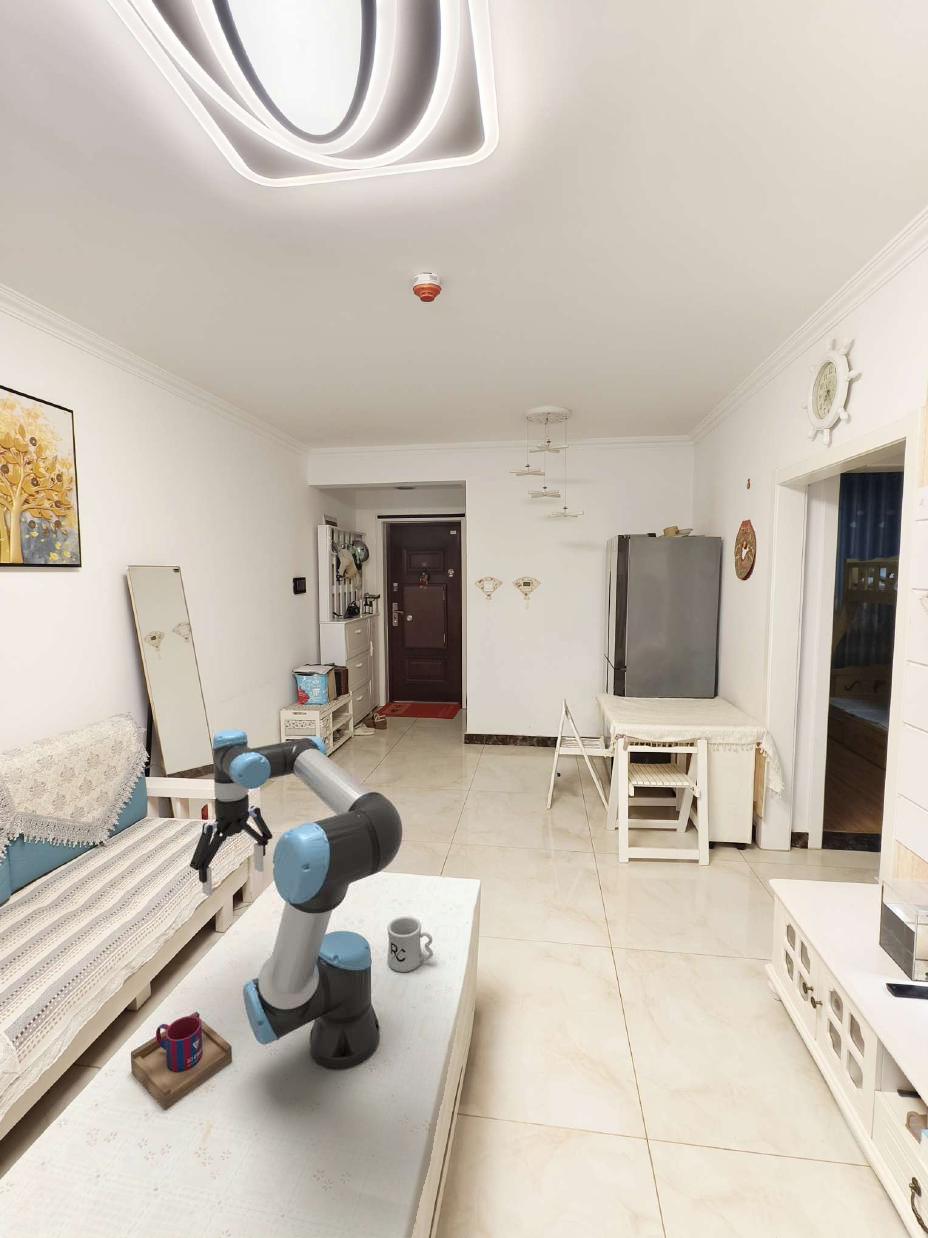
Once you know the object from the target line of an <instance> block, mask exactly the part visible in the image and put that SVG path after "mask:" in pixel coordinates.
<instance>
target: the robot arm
mask: <svg viewBox="0 0 928 1238" xmlns="http://www.w3.org/2000/svg"><path fill="white" fill-rule="evenodd" d="M248 743H249V741H248V734H247V732H245V731H244V730H242V729H227V730H226V729H225V730H223V731H222V730H221V731H219V732H217V733H215V734H214V736H213V738H212V749H211V750H212V756H213V757H212V758H213V780H214V782H213V783H214V784H213V785H214V797H215V799H214V814H215V820H214V822H211V823H208V822H204V823H203V824H202V827H201V835H200V838H199V839H198V842H197V844H196V848H195V851H194V853H193V855H192V858H191V860H190V863H189V868H192V869H193V870H195V871H198V881H199V882H201V884H202V885H201V886H202V893H203V894H204V895H206V896H208V897H211V896H213V884H212V883H213V878H212V877H213V875H212V867H210V864H211V863H212V862H213V859H214V858H215V856H216V854H217V852H218V851H219V850H220V847H221V846H222V844H223V842H226V840H227V838H228V837H229V838H230V837H233V836H234V835H236V834H241V833H242V831H244V832H245V833H246V834H247V835H249V837H251V838H252V839H254V840H255V841H256V843H254V844H253V857H254V858H253V859H254V860H253V861H254V862H253V863H254V870H255V871H258V872H260V873H262V872H264V870H265V869H264V857H265V856H266V849H267V848H266V846H267V845H269V840H272V839H273V834H272V832H271V831H270V829H269V827H268V825H267V823H266V822H265V820H264V818H263V816H262V812H261V808H260V807H258V806H255V805H251V806H250V803H249V802H250V800H249V799H250V798H249V791H250V790H254V789H258V788H260V787H261V786H263V785H264V784H265V783H267V782H268V780H270V779H274V778H280V777H285V776H288V775H294V776H296V777H297V778H298V779H299V780H300V781H301V782H302V783H303V784H304V785H305V786H306V787H307V788H308V789H309V790H311V792H312V793H314V794H315V795H316V796H317V797H318V798H319V800H321V801H322V802H323V804H324V805H326V806H327V807H328V808H329V809H330V810H331V811H332V812H333V813H334V814H335V815H333V816H330V817H327V818H323V819H320V820H317V821H313V822H305V823H304V822H303V823H302V824H300V825H299V826H296V827H293V828H291V829H288V830H287V831H285V832H284V833H282V834H281V836H280V837H279V839H278V840H277V842H276V844H275V848H274V851H273V855H272V864H273V869H272V876H273V881H274V885H275V888H276V891H277V893H278V894H279V897H281V899H282V900H283V901H285V903H284V907H283V910H282V911H283V912H282V915H281V919H280V922H279V927H278V931H277V935H276V938H275V943H274V947H273V952H272V955H271V956H270V957H269V958H268V959H267V960H266V961H265V962H264V964H263V965H262V967H261V969H260V971H259V973H258V977H256V978H252V979H250V980H249V981H247V982H245V984H244V985H243V989H242V994H243V1001H244V1002H243V1004H244V1006H245V1010H246V1015H247V1018H248V1022H249V1025H250V1028H251V1031H252V1033H253V1035H254V1038H255V1039H256V1041H257V1042H258V1043H259V1044H261V1045H263V1046H264V1045H268V1044H270V1043H272V1042H275V1041H279V1040H280V1039H281V1038H283V1037H285V1036H287V1035H288V1034H290V1033H292V1032H294V1031H296V1030H297V1029H300V1028H301V1027H303V1026H305V1025H307V1024H310V1023H311V1022H313V1025H312V1027H311V1029H310V1033H309V1053H310V1056H311V1058H312V1059H313V1060H314V1062H315V1063H316V1064H318V1065H319V1066H321V1067H323V1068H325V1069H328V1070H335V1071H338V1070H339V1071H341V1070H342V1071H343V1070H348V1069H351V1068H354V1067H355V1068H356V1066H359V1065H361V1064H362V1063H364V1062H365V1061H367V1060H368V1059H369V1058H370V1057H372V1056H373V1054H374V1053H375V1052H376V1051H377V1048H378V1046H379V1043H380V1039H381V1038H380V1035H381V1033H380V1032H381V1029H380V1028H381V1027H380V1023H379V1020H378V1017H377V1014H376V1011H375V1010H374V1006H373V1004H372V963H373V960H372V952H371V946H370V943H369V941H368V940H367V939H366V937H364V936H363V935H361V934H359V933H357V932H354V931H349V930H335V931H332V932H331V931H330V932H328V933H327V929H328V927H329V924H330V923H329V922H330V919H331V916H332V913H333V911H334V910H335V909H337V908H338V907H339V906H340V905H341V904H342V903H343V902H344V900H345V898H346V895H347V893H348V889H349V885H350V884H352V883H354V882H357V881H360V880H362V879H365V878H368V877H370V876H373V875H375V874H378V873H380V872H381V871H383V870H385V869H386V868H387V867H388V866H389V865H390V864H391V863H392V862H393V861H394V860H395V858H396V856H397V854H398V853H399V850H400V847H401V844H402V842H403V824H402V819H401V816H400V812H399V811H398V810H397V808H396V807H395V805H394V804H393V803H392V801H390V800H389V799H388V798H387V797H386V796H384V795H383V794H382V793H380V792H378V791H370V790H368V789H367V788H366V787H365V786H363V785H362V783H360V782H359V781H357V779H355V778H353V777H352V775H350V774H349V773H347V772H346V771H345V770H344V769H343V768H342V767H341V766H339V765H338V764H337V763H336V762H334V761H333V760H332V759H330V758H329V757H328V751H327V747H326V745H325V743H324V740H323V739H322V738H320V737H318V736H311V737H310V736H309V737H303V738H299V739H294V740H289V741H284V742H279V743H274V744H269V745H263V746H258V747H252V748H250V747H249V746H248ZM250 817H251V819H252V820H253V821H254V824H255V825H256V826H257V828H258V830H259V832H260V833H261V834H260V833H258V832H257V830H255V829H254V828H253V827H252V826H251V825H250V824H249V823H247V822H248V821H249V819H250Z"/></svg>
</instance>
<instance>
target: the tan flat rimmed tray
mask: <svg viewBox="0 0 928 1238" xmlns="http://www.w3.org/2000/svg"><path fill="white" fill-rule="evenodd" d="M189 1016H196V1017H198V1018H199V1019H200V1020H201V1023H202V1052H203V1053H202V1057H201V1059H200V1061H199V1062H198V1063H197V1064H196V1065H195V1066H193V1067H192V1068H190V1069H188V1070H186V1071H183V1072H172V1071H170V1070H169V1069H168V1068H167V1061H166V1050H164V1049H163V1048H162V1047H161V1046H160V1045H159V1044H158V1042H157V1039H156V1036H154V1037H153V1038H151V1039H149V1040H148V1041H146V1042H145V1043H143V1044H141V1045H140V1046H138V1047H136V1048H135V1049H134V1050H131V1051H130V1064H131V1067H130V1068H131V1073H132V1075H133V1076H134V1077H135V1078H136V1079H137V1081H138V1082H139V1083H140V1084H141V1085H142V1086H143V1088H144V1089H146V1091H147V1092H148V1093H149V1094H150V1096H152V1097H153V1099H154V1100H155V1101H156V1102H157V1103H158V1104H159V1106H161V1108H162V1109H163V1110H164V1111H166V1110H167V1109H169V1108H170V1107H171V1106H174V1104H175V1103H177V1102H178V1101H180V1100H182V1099H183V1098H184V1097H185V1096H187V1095H188V1094H189V1093H191V1092H192V1091H194V1090H195V1089H197V1087H199V1086H201V1085H202V1084H203V1083H204V1082H206V1081H208V1080H209V1079H210V1078H211V1077H213V1076H214V1075H216V1074H217V1073H218V1072H220V1071H221V1070H223V1069H224V1068H225V1067H227V1066H228V1065H230V1063H232V1062H233V1056H232V1055H233V1052H232V1045H231V1044H230V1043H229V1042H228V1041H227V1040H226V1039H224V1038H223V1037H221V1035H220V1034H219V1033H217V1032H216V1031H215V1030H214V1029H213V1028H212V1027H211V1026H209V1025H208V1024H207V1023H206V1022H205V1021H203V1020H202V1018H201V1017H200V1013H199V1012H198V1011H194V1012H193V1013H191V1014H190V1015H189ZM165 1033H166V1030H164V1031H162V1032H160V1034H161V1038H162V1040H163V1041H164V1042H165V1043H166V1035H165Z"/></svg>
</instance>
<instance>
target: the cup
mask: <svg viewBox="0 0 928 1238" xmlns="http://www.w3.org/2000/svg"><path fill="white" fill-rule="evenodd" d="M199 1018H200V1017H199ZM199 1018H198V1017H196V1016H190V1015H187V1016H182V1017H180V1018H177V1019H176V1020H174V1021H173V1022H171V1024H167V1023H166V1024H165V1023H162V1024H159V1026H158V1027H157V1028H156V1032H155V1037H156V1039H157V1042H158V1044H159V1045H160V1046H161V1047H162V1048H163V1049H164V1050H166V1061H167V1068H168V1069H169V1070H170V1071H172V1072H183V1071H186V1070H188V1069H190V1068H192V1067H193V1066H195V1065H196V1064H197V1063H198V1062H199V1061H200V1059H201V1057H202V1053H203V1052H202V1023H201V1020H202V1019H201V1018H200V1019H201V1020H200V1019H199ZM161 1029H163V1030H164V1031H166V1033H165V1035H166V1043H165V1042H164V1041H163V1040H162V1038H161Z"/></svg>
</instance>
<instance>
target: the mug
mask: <svg viewBox="0 0 928 1238" xmlns="http://www.w3.org/2000/svg"><path fill="white" fill-rule="evenodd" d="M387 935H388V936H387V937H388V950H387V957H386V958H387V960H386V961H387V964H388V966H389V967H390V968H391V969H392V970H393V971H396V972H401V973H406V972H411V971H414V970H415V969H417V968H418V967H419V965H421V963H422V960H430V959H431V958H432V957H433V955H434V954H433V953H434V952H433V950H432V949H431V947H430V946H431V945H432V943H433V936H432V935H431V934H430V933H429V932H427V931H423V932H422V923H421V921H420V920H419V919H417V918H416V917H413V916H400V917H396V918H394V919H392V920H391V921H390V922H389V923H388V925H387ZM423 937H427V939H428V941H427V942H426V943H425V944H424V948H425V951H427V952H428V953H429V954H427V955H425V954H424V953H423V952H422V948H421V938H423Z"/></svg>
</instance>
